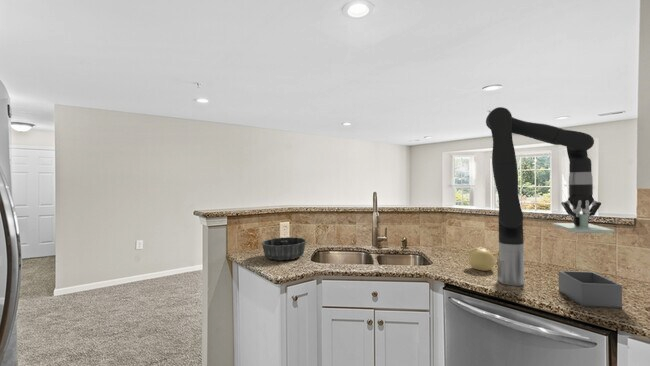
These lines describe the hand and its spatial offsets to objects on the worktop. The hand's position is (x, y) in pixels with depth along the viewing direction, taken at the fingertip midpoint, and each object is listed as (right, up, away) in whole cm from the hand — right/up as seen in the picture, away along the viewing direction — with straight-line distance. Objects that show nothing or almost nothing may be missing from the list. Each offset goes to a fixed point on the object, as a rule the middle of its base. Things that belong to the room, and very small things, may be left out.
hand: (581, 226), depth 130 cm
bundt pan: (-128, -27, +62) cm, 145 cm away
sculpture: (-26, -26, +29) cm, 47 cm away
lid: (0, -2, 0) cm, 2 cm away
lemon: (-8, -25, +42) cm, 50 cm away
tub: (-7, -25, -12) cm, 29 cm away
